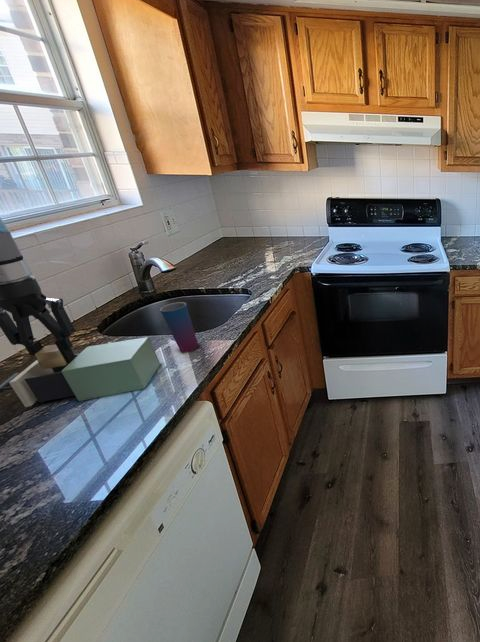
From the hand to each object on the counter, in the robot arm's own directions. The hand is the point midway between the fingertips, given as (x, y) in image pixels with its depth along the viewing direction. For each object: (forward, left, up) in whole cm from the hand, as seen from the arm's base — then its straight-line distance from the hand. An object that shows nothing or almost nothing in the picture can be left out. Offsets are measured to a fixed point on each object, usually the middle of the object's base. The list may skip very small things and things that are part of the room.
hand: (58, 362), depth 96 cm
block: (0, 0, 0) cm, 0 cm away
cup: (+24, +14, -9) cm, 29 cm away
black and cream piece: (-3, 0, -8) cm, 9 cm away
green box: (+11, 0, -9) cm, 14 cm away
